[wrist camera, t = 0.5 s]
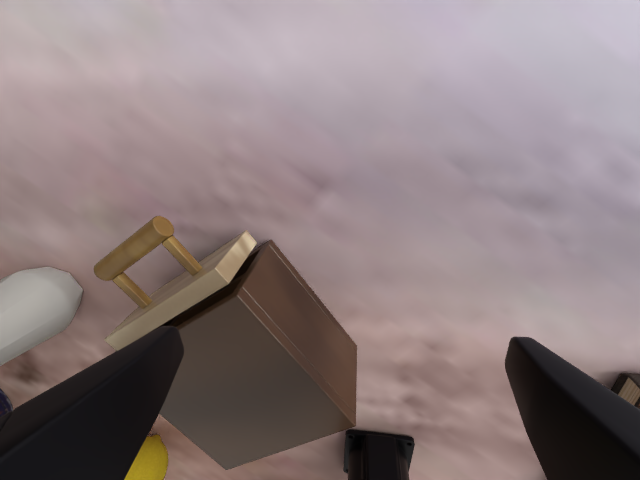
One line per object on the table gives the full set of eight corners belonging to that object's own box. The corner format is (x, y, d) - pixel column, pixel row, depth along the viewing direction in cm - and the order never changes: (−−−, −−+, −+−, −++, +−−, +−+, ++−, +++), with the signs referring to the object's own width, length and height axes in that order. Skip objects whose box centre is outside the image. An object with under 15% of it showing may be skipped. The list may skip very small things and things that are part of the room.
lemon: (157, 455, 37) (108, 543, 30) (124, 426, 35) (63, 512, 28) (191, 444, 35) (148, 535, 28) (158, 413, 33) (102, 501, 26)
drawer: (113, 255, 24) (52, 295, 19) (206, 181, 21) (160, 208, 16) (236, 377, 28) (211, 434, 24) (331, 332, 25) (324, 389, 20)
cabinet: (168, 304, 27) (108, 371, 20) (271, 238, 23) (237, 295, 17) (254, 390, 30) (225, 470, 24) (357, 345, 26) (356, 426, 20)
